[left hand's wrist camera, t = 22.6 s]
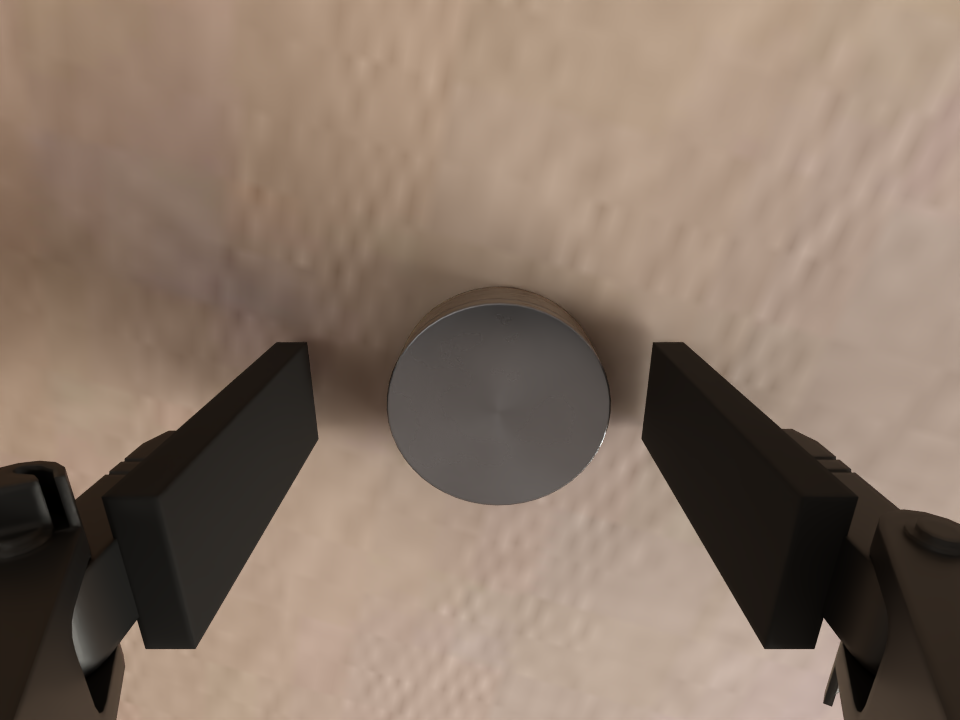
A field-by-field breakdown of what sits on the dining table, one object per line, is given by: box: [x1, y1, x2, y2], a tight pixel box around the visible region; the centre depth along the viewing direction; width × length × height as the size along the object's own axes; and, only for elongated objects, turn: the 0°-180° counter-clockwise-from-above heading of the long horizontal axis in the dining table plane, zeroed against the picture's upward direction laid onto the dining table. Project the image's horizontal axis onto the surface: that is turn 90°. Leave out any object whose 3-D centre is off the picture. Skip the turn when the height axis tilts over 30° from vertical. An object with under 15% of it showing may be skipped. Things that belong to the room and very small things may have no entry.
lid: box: [387, 287, 611, 505], centre depth 13 cm, size 5×5×2 cm
